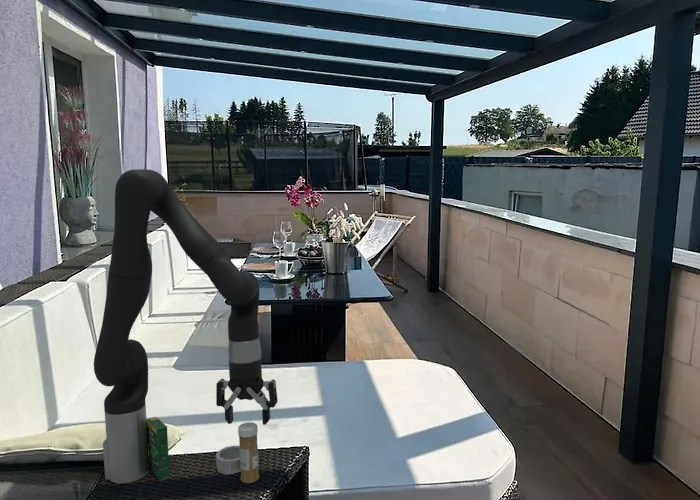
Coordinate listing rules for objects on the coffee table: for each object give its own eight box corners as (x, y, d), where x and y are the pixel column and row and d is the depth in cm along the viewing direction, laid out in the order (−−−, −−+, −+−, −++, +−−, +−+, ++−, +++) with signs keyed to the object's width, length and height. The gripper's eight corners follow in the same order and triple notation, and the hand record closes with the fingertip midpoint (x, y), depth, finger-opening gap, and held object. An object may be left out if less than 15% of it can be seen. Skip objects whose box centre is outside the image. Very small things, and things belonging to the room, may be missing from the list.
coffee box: (148, 468, 130) (145, 418, 128) (159, 464, 132) (157, 415, 130) (158, 482, 123) (155, 429, 122) (170, 477, 125) (167, 426, 124)
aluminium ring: (212, 474, 127) (211, 460, 126) (223, 457, 134) (222, 445, 134) (243, 475, 126) (242, 461, 126) (252, 459, 134) (251, 446, 133)
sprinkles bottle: (262, 480, 124) (260, 426, 122) (244, 486, 121) (242, 431, 120) (254, 471, 127) (252, 419, 126) (237, 477, 125) (235, 424, 124)
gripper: (209, 361, 118) (213, 429, 120) (270, 362, 116) (273, 430, 118) (221, 351, 125) (224, 415, 127) (278, 352, 124) (281, 416, 126)
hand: (248, 422), depth 123 cm, fingers open, 8 cm apart
